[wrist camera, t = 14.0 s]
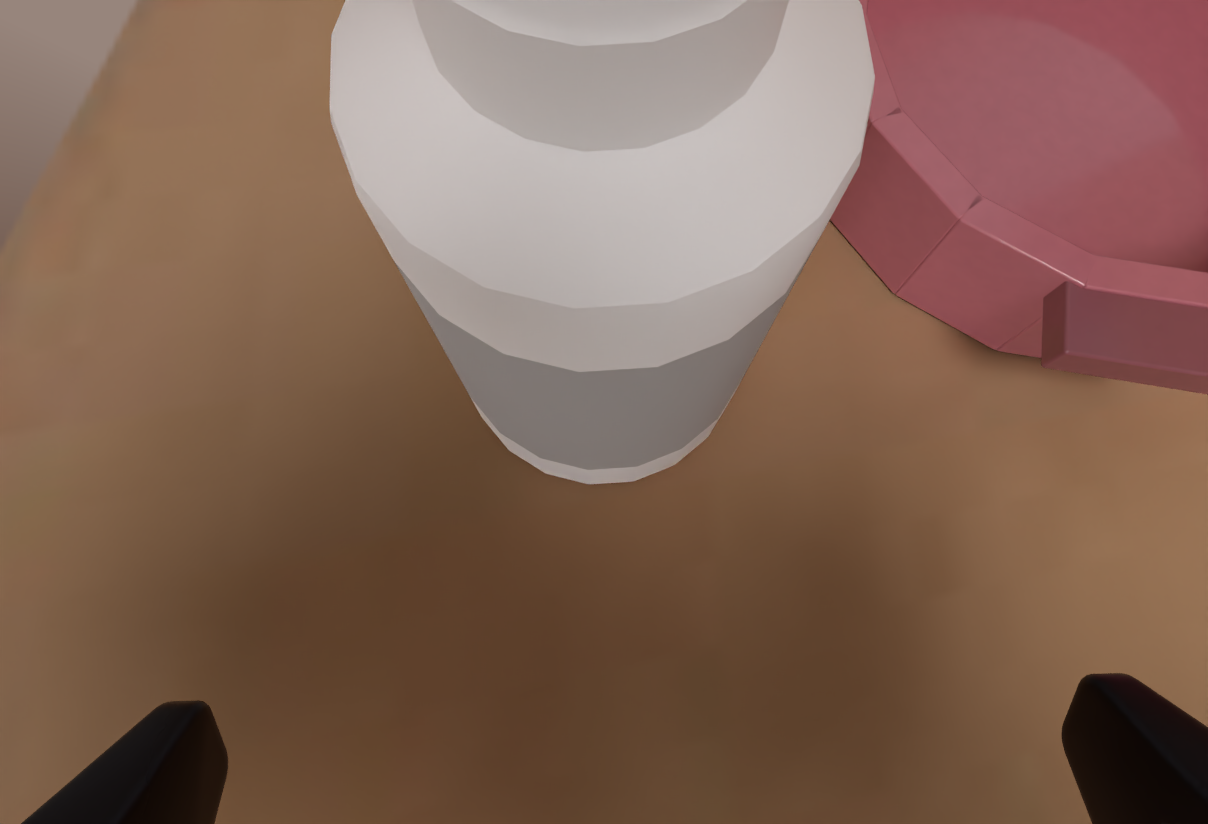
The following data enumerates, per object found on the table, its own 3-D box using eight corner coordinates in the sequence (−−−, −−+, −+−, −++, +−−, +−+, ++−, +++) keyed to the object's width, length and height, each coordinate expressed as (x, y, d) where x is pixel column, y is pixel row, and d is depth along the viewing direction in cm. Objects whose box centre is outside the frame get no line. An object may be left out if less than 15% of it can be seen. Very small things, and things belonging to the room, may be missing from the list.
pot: (1350, 466, 20) (1531, 426, 16) (760, 369, 20) (797, 308, 17) (1310, -97, 24) (1443, -234, 21) (829, -162, 25) (870, -307, 21)
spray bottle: (552, 540, 19) (102, -294, 2) (420, 312, 21) (-487, -1288, 3) (788, 400, 20) (1912, -1009, 3) (645, 191, 22) (815, -1548, 4)
